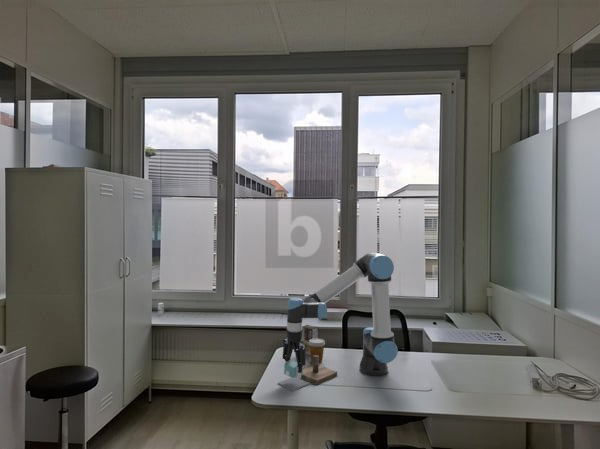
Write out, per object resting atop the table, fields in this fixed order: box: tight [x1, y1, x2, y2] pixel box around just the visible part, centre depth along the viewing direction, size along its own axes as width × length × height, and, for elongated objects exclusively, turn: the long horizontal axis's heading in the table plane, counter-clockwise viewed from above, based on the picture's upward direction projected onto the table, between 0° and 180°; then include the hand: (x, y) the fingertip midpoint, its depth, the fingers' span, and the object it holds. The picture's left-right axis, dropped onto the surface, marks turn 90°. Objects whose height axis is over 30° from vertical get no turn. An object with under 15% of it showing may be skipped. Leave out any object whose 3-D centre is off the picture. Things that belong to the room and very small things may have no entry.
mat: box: [277, 377, 310, 392], centre depth 194 cm, size 11×11×1 cm
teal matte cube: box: [283, 360, 304, 378], centre depth 193 cm, size 6×7×5 cm
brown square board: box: [300, 355, 338, 385], centre depth 205 cm, size 16×16×10 cm
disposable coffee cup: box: [309, 338, 326, 364], centre depth 225 cm, size 10×10×12 cm
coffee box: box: [301, 324, 320, 356], centre depth 238 cm, size 9×6×16 cm
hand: (293, 376), depth 194 cm, fingers closed on teal matte cube, 6 cm apart
